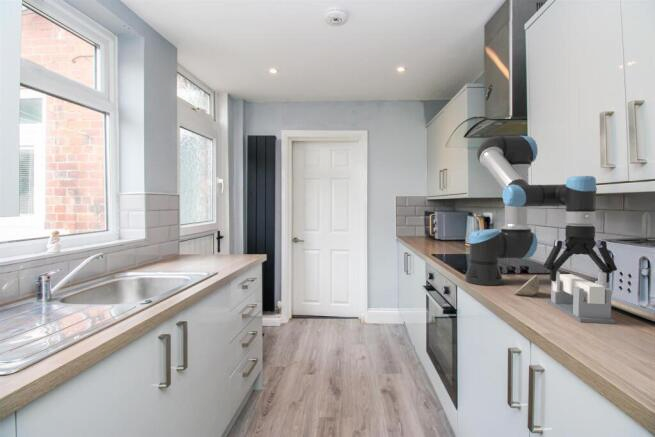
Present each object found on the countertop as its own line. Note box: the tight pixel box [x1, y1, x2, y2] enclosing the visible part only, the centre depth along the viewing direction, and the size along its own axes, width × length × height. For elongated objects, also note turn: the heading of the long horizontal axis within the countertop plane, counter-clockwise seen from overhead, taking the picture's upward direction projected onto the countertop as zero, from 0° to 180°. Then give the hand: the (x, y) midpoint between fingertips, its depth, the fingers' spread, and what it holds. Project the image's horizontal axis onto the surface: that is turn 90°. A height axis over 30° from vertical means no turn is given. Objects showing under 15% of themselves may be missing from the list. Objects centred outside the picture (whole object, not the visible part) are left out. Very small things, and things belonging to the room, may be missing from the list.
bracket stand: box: [547, 281, 616, 325], centre depth 107 cm, size 20×9×10 cm, turn 170°
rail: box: [560, 273, 605, 304], centre depth 106 cm, size 18×4×5 cm, turn 170°
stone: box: [513, 274, 540, 297], centre depth 128 cm, size 10×7×10 cm
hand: (578, 291), depth 107 cm, fingers open, 12 cm apart
